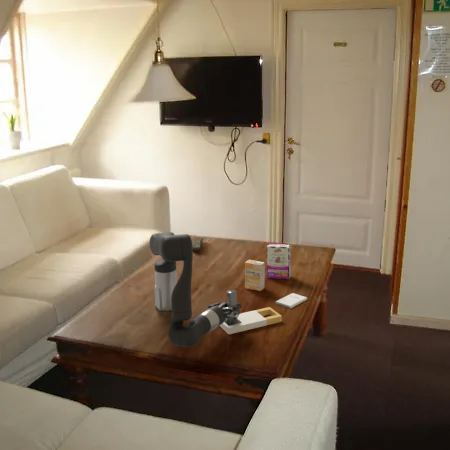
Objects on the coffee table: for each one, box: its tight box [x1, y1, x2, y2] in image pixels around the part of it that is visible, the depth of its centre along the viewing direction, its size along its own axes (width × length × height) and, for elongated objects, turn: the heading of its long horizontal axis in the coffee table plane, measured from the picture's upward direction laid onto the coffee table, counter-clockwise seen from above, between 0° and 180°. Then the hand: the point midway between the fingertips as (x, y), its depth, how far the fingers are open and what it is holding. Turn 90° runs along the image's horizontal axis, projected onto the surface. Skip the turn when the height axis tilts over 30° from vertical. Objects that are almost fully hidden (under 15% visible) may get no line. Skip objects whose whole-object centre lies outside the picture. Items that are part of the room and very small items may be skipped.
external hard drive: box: [274, 292, 308, 309], centre depth 254 cm, size 2×8×12 cm
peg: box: [226, 289, 238, 326], centre depth 229 cm, size 4×4×15 cm
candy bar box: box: [266, 243, 292, 280], centre depth 280 cm, size 11×5×16 cm, turn 76°
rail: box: [219, 306, 283, 335], centre depth 235 cm, size 24×10×2 cm, turn 116°
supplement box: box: [244, 259, 266, 292], centre depth 268 cm, size 8×5×13 cm, turn 62°
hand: (235, 303), depth 231 cm, fingers closed on peg, 4 cm apart
